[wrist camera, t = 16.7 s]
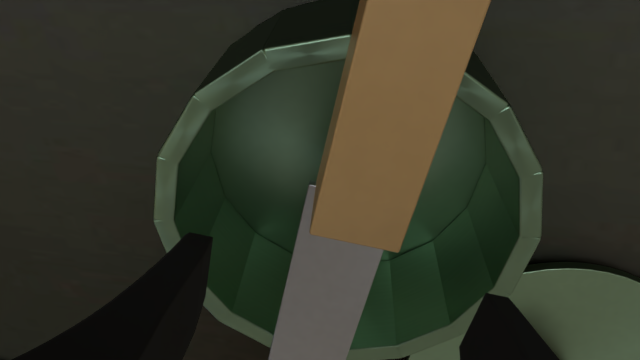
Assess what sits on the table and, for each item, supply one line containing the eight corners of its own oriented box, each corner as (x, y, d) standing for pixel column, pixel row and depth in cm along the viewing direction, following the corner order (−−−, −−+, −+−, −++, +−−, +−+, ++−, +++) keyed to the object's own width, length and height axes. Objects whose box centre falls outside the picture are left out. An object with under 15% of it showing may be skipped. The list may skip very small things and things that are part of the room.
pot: (187, 239, 24) (146, 326, 19) (215, -39, 18) (165, -10, 13) (442, 292, 25) (462, 388, 20) (553, 40, 19) (619, 94, 14)
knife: (367, -71, 12) (370, -59, 10) (482, -43, 12) (511, -24, 10) (255, 412, 22) (242, 480, 19) (321, 425, 22) (317, 493, 19)
